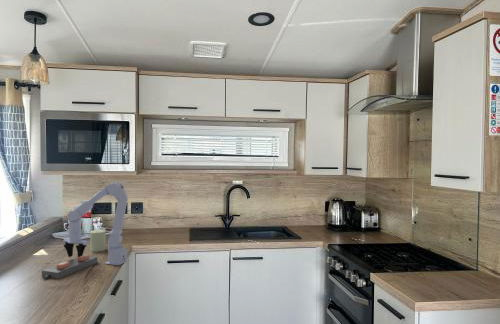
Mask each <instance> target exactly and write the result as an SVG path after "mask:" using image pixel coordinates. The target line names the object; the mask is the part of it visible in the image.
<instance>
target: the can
mask: <svg viewBox="0 0 500 324" xmlns="http://www.w3.org/2000/svg"><path fill="white" fill-rule="evenodd" d="M106 231H107V230H105V229H94V230H91V231H90V232H89V245H90V246H89V251H90V252H94V253H96V252H97V253H98V252H103V251H105V250H106V249H107V242H106V239H107V238H106V235H107V234H106V233H107V232H106Z"/></svg>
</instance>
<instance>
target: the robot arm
mask: <svg viewBox="0 0 500 324" xmlns="http://www.w3.org/2000/svg"><path fill="white" fill-rule="evenodd" d="M109 195H111V196H113V197H114V198H115V200H116V201H117V203H116V208H115V215H114V220H113V224H112V229H111V232H110V235H109V237H108V238H107V242H106V245H108V246H107V255H108V256H107V257H108V258H107V260H108V261H106V262H104V264H105V265H111V266H112V265H114V266H120V265H123V264H124V263H127V262H129V260H128V249H127V247H125V246H123V244H122V241H123V239H124V238H123V226H124V225H123V224H124V221H125V220H124V219H125V215H126V209H127V205H128V199H129V198H128V194H127V193H126V189H125V187H124V185H123V184H122V183H121V182H119V181H114V182H112V183H109V184H108V185H107V186H104V187H103V188H101V189H100V190H99V191H98V192H96V193H95V194H94V195H93V196H92V197H91V198H89V200H88V199H84V200H81V201H80V204H78V205H77V206H75V207H73V210H70V211H69V212H68V213H67V220H68V238H64V239H63V240H62V243H63V247H64V248H65V251H66V253H67V257H68V258H71V257H73V252H74V246H75V247H76V252H77V257H79V256H82V255H84V251H85V249H86V247H87V246H88V240H84V239H82V233H81V232H82V231H81V230H82V228H81V227H82V226H81V225H82V223H81V218H82V217H83V216H84V215H86V214H87V213H88V212H89V211H91V210H92V209H93V207H94V204H95V203H97V202H98V201H100V200H101V199H102V198H103V197H105V196H109Z"/></svg>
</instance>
